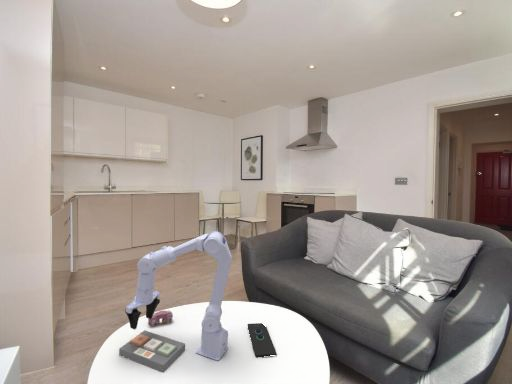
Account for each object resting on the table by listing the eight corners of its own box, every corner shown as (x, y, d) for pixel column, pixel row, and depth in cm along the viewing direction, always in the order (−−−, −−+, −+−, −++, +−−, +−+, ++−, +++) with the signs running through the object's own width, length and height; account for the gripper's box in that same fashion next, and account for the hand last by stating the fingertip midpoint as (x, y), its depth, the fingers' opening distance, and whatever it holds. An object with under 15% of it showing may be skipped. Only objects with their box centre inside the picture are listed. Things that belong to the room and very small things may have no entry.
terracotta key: (149, 340, 98) (149, 336, 98) (140, 348, 94) (140, 343, 94) (139, 337, 100) (140, 333, 99) (130, 344, 95) (130, 340, 95)
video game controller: (148, 329, 111) (149, 319, 108) (147, 319, 114) (148, 309, 111) (172, 324, 115) (174, 314, 112) (171, 315, 119) (172, 305, 116)
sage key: (175, 350, 94) (176, 346, 94) (167, 357, 90) (167, 353, 90) (165, 346, 95) (165, 342, 95) (157, 354, 91) (157, 349, 91)
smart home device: (265, 322, 117) (277, 353, 97) (265, 326, 117) (276, 357, 97) (246, 323, 115) (255, 354, 95) (246, 327, 115) (255, 359, 95)
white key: (162, 345, 96) (162, 341, 96) (153, 352, 92) (153, 348, 92) (152, 342, 98) (152, 338, 97) (143, 349, 93) (143, 345, 93)
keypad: (184, 350, 97) (185, 343, 97) (163, 372, 86) (163, 364, 86) (144, 336, 104) (144, 329, 104) (119, 355, 92) (119, 347, 92)
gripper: (151, 278, 104) (147, 311, 105) (120, 291, 90) (116, 329, 91) (165, 282, 102) (161, 316, 102) (136, 297, 88) (132, 336, 89)
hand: (141, 323), depth 97 cm, fingers open, 7 cm apart
